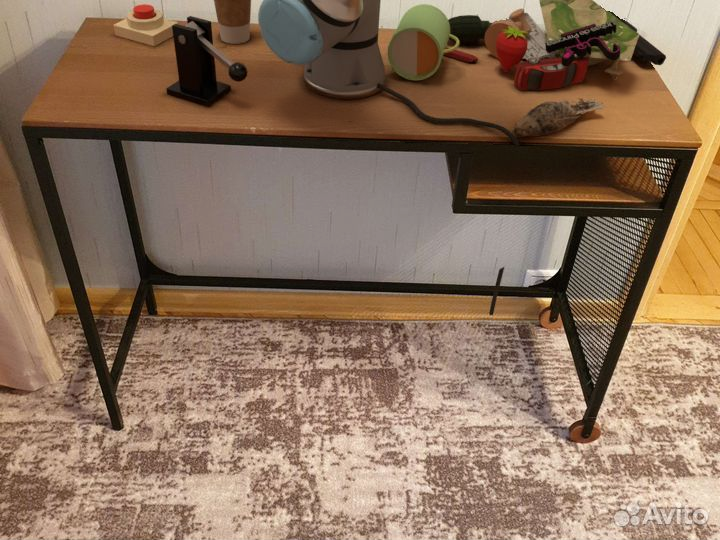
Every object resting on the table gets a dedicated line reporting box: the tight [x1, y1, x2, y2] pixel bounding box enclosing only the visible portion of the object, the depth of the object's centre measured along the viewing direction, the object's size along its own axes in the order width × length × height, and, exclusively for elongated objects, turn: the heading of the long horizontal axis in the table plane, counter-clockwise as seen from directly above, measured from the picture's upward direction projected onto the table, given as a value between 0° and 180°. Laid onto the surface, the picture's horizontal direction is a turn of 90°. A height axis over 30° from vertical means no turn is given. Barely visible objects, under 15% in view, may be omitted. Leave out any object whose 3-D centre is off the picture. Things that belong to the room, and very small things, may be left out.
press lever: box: [184, 21, 249, 83], centre depth 123 cm, size 13×3×3 cm, turn 63°
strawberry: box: [496, 22, 530, 73], centre depth 138 cm, size 6×8×10 cm
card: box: [538, 0, 640, 62], centre depth 142 cm, size 22×25×1 cm
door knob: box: [484, 8, 532, 60], centre depth 145 cm, size 8×10×8 cm
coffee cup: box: [213, 0, 252, 45], centre depth 143 cm, size 8×8×15 cm
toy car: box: [513, 56, 589, 91], centre depth 137 cm, size 6×15×5 cm
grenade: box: [448, 14, 493, 45], centre depth 149 cm, size 6×6×12 cm
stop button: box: [132, 3, 155, 19], centre depth 145 cm, size 4×4×2 cm
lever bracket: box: [166, 15, 232, 108], centre depth 125 cm, size 9×7×13 cm
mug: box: [387, 3, 461, 81], centre depth 137 cm, size 13×10×12 cm
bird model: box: [512, 98, 606, 138], centre depth 125 cm, size 21×6×5 cm, turn 126°
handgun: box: [608, 11, 667, 66], centre depth 156 cm, size 4×29×15 cm
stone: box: [492, 12, 562, 61], centre depth 151 cm, size 22×3×10 cm
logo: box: [546, 21, 620, 66], centre depth 134 cm, size 13×2×10 cm
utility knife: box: [443, 46, 479, 63], centre depth 146 cm, size 12×1×2 cm
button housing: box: [112, 8, 179, 47], centre depth 146 cm, size 10×8×4 cm
